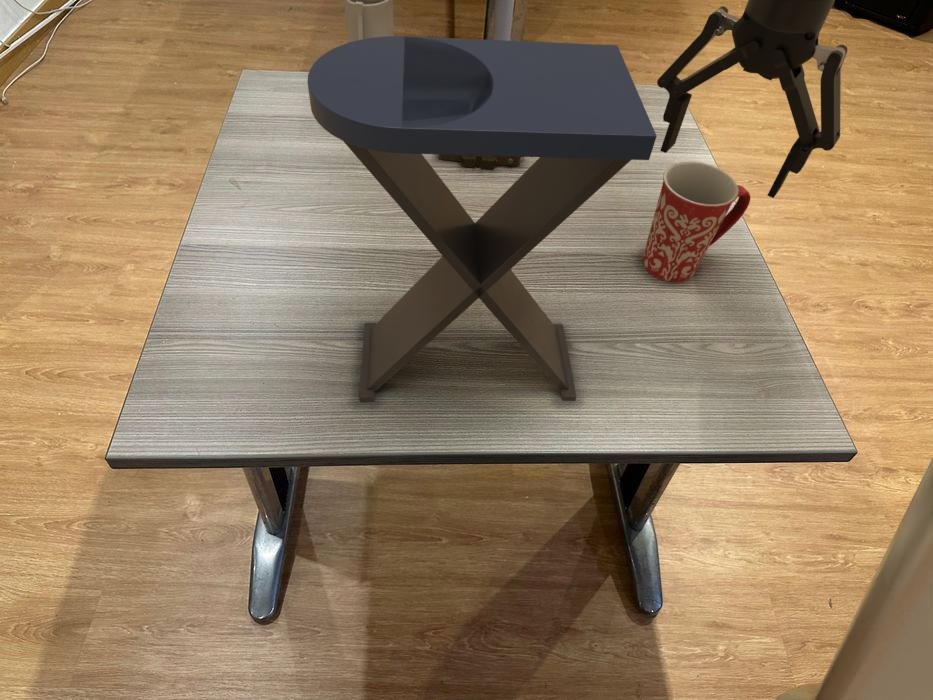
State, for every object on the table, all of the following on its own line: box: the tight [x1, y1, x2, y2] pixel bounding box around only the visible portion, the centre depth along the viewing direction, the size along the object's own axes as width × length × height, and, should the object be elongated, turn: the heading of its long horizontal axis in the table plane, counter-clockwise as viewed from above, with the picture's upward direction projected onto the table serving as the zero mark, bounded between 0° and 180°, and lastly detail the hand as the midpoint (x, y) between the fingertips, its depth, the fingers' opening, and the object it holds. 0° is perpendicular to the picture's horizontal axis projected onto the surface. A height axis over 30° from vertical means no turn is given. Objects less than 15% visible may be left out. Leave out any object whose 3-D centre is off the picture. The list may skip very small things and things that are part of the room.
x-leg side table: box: [307, 35, 658, 402], centre depth 62 cm, size 26×14×34 cm, turn 93°
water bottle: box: [343, 0, 395, 43], centre depth 98 cm, size 9×8×25 cm
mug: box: [642, 161, 751, 283], centre depth 84 cm, size 13×9×14 cm
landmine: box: [438, 154, 522, 170], centre depth 104 cm, size 14×3×15 cm
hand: (719, 169), depth 77 cm, fingers open, 13 cm apart
